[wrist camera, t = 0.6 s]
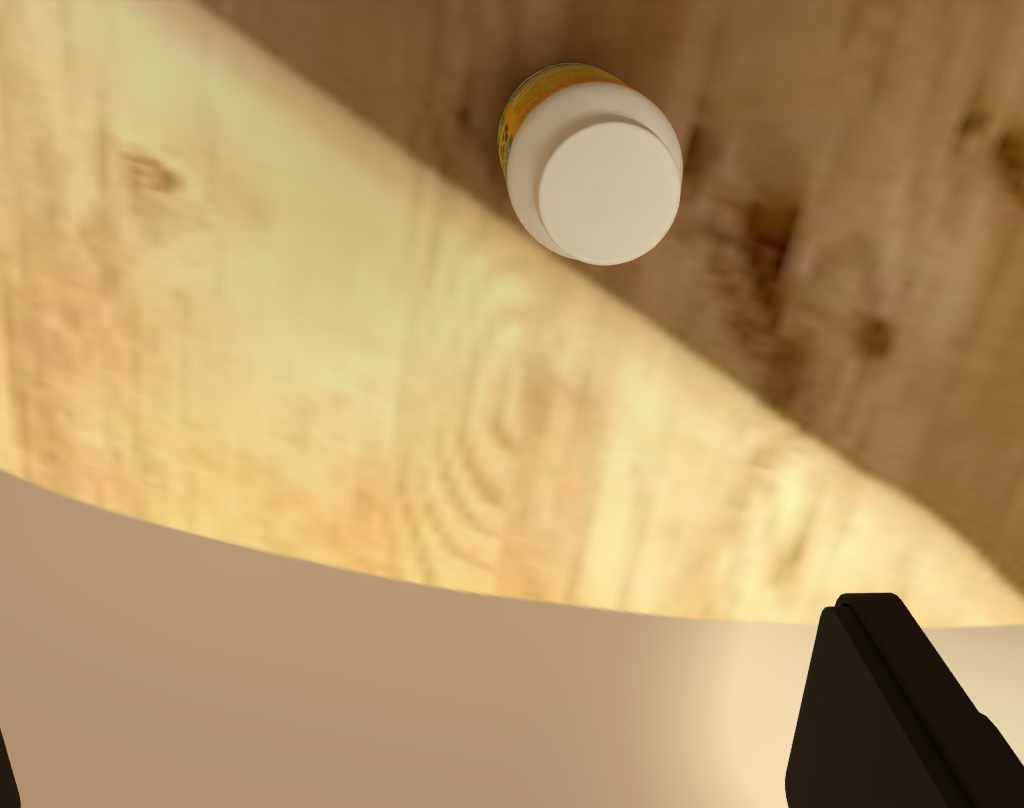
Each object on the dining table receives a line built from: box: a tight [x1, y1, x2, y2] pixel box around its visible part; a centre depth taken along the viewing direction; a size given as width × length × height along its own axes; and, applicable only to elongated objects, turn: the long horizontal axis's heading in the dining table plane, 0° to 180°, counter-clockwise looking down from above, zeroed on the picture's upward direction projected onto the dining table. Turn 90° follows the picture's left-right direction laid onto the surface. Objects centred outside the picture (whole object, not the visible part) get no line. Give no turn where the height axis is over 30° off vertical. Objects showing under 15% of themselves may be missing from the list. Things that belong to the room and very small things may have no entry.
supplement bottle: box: [497, 63, 683, 265], centre depth 30 cm, size 5×5×10 cm
